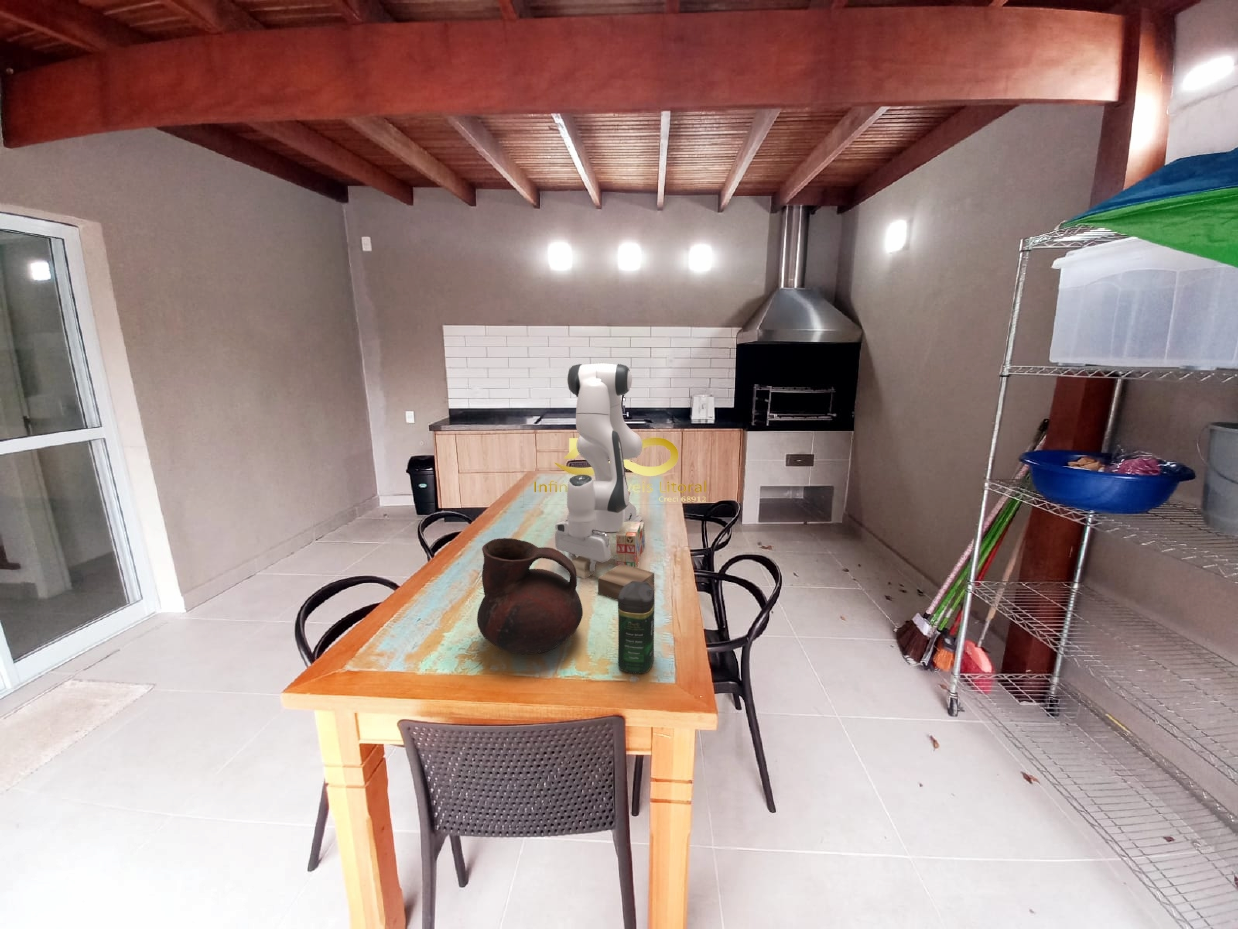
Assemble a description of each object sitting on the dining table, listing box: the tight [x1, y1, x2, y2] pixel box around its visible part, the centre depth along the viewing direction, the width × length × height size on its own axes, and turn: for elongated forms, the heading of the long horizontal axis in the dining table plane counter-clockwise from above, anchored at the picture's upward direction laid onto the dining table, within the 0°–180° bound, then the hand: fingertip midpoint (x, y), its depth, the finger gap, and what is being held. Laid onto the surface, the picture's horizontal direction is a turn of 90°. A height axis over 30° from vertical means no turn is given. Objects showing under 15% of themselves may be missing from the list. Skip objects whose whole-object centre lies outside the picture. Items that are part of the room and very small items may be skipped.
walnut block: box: [597, 564, 655, 601], centre depth 144 cm, size 12×12×5 cm
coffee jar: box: [617, 581, 655, 675], centre depth 110 cm, size 10×8×19 cm
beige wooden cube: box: [572, 555, 595, 579], centre depth 156 cm, size 5×5×5 cm
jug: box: [476, 537, 584, 655], centre depth 118 cm, size 25×25×25 cm
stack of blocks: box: [615, 521, 646, 568], centre depth 168 cm, size 21×6×12 cm, turn 169°
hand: (583, 568), depth 156 cm, fingers closed on beige wooden cube, 5 cm apart
